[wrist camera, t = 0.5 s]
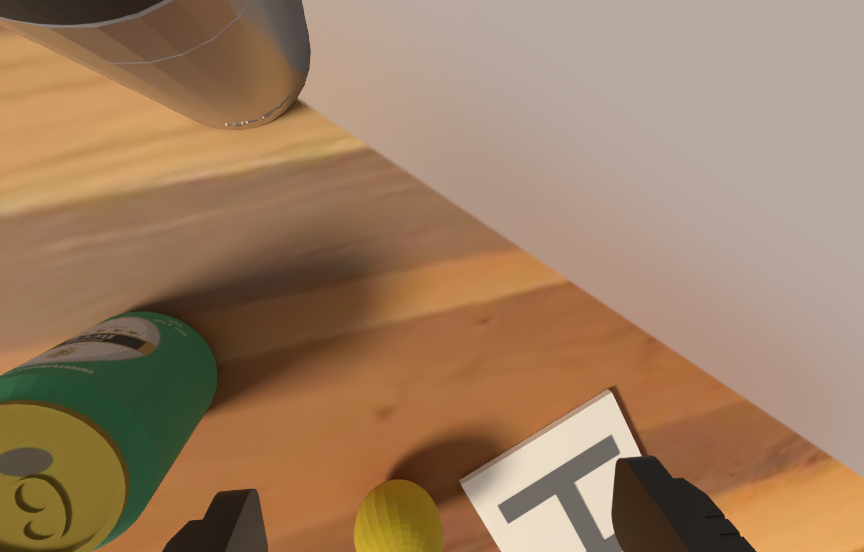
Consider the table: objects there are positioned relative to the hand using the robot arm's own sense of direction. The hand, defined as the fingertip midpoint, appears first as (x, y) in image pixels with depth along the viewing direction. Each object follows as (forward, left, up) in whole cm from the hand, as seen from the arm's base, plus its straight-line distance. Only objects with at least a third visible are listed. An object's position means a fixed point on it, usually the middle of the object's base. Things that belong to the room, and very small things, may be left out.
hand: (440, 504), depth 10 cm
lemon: (+13, -6, -21) cm, 25 cm away
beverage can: (-3, -14, -21) cm, 25 cm away
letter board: (+23, +5, -21) cm, 31 cm away
